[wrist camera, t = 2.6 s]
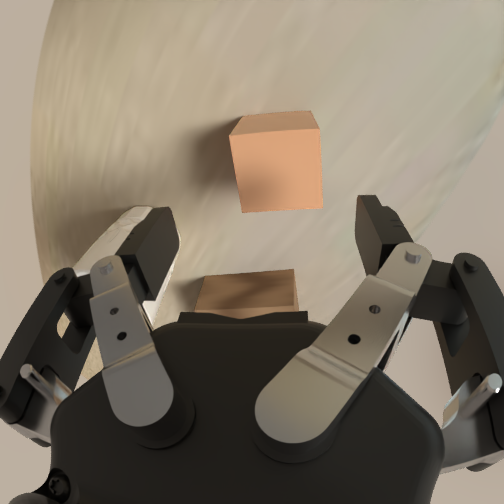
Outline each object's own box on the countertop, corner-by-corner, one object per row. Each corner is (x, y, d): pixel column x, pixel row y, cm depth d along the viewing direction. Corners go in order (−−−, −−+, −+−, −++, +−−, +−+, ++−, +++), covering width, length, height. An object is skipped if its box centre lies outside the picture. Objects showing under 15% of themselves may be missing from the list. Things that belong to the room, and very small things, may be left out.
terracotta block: (310, 110, 20) (319, 128, 15) (314, 172, 23) (322, 208, 18) (242, 115, 20) (228, 135, 16) (252, 176, 23) (242, 212, 19)
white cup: (198, 261, 29) (169, 343, 21) (135, 270, 31) (96, 341, 23) (169, 191, 25) (117, 263, 17) (102, 209, 27) (45, 275, 19)
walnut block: (293, 267, 29) (293, 305, 25) (300, 326, 34) (300, 361, 30) (205, 274, 31) (194, 310, 27) (226, 329, 36) (220, 363, 32)
